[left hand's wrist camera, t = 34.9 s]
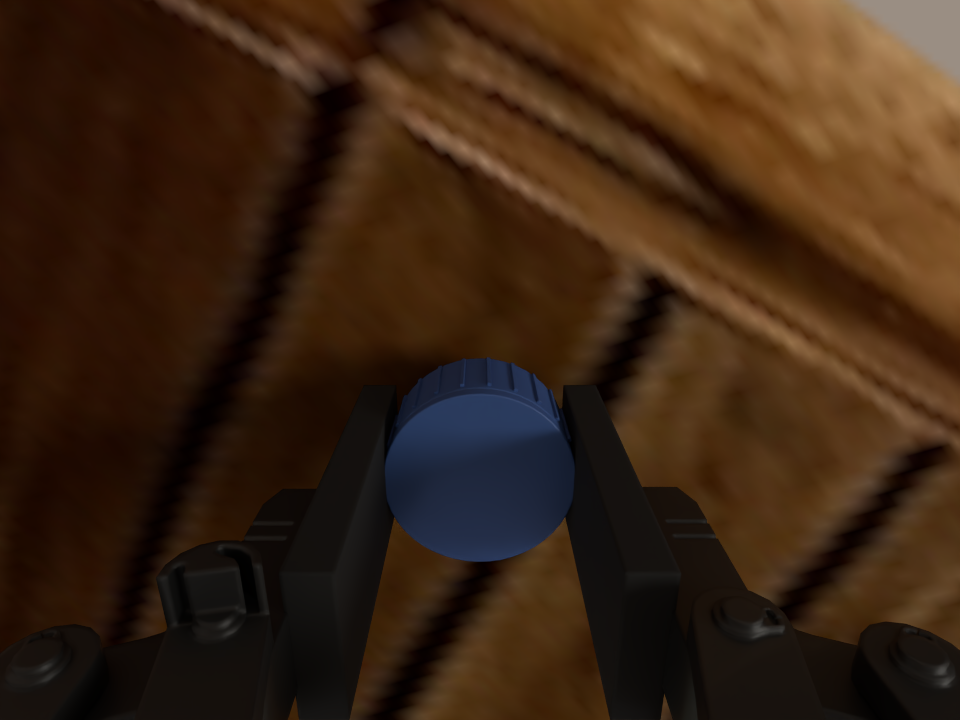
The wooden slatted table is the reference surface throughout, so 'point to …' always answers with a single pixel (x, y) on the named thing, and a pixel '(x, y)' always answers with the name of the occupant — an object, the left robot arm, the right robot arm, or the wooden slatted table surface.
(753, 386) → the wooden slatted table surface
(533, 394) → the cap
